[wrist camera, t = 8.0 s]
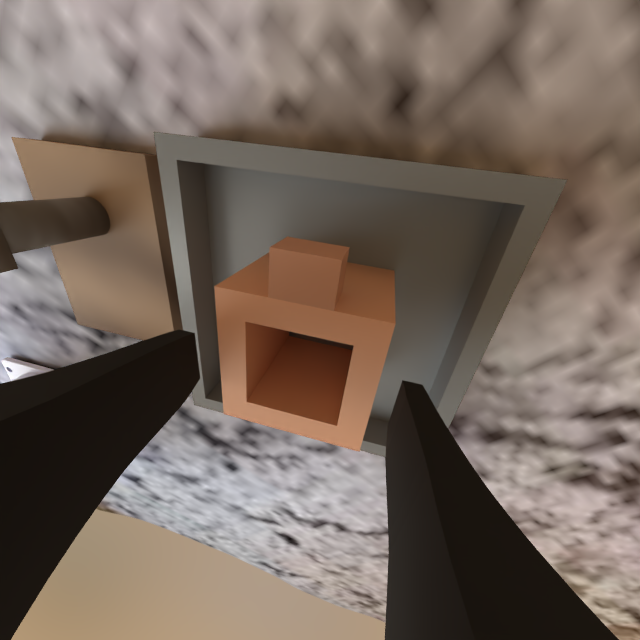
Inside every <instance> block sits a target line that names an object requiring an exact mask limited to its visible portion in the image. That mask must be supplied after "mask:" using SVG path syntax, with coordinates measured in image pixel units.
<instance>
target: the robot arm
mask: <svg viewBox="0 0 640 640" xmlns="http://www.w3.org/2000/svg"><path fill="white" fill-rule="evenodd" d="M2 364H3V366H4V368H5V369H6V371H7V373H8V375H9V377H10V379H11V380H12V381H10V382H6V383H2V384H0V640H11V638H12V637H13V635H14V633H15V632H16V630H17V628H18V627H19V625H20V623H21V622H22V620H23V619H24V617H25V615H26V614H27V612H28V610H29V609H30V607H31V606H32V604H33V602H34V601H35V599H36V598H37V596H38V594H39V593H40V591H41V590H42V588H43V586H44V585H45V583H46V581H47V580H48V578H49V577H50V575H51V574H52V572H53V571H54V569H55V568H56V566H57V565H58V563H59V562H60V560H61V559H62V557H63V556H64V554H65V553H66V551H67V550H68V548H69V547H70V545H71V544H72V542H73V541H74V539H75V537H76V536H77V535H78V533H79V532H80V530H81V529H82V528H83V526H84V525H85V523H86V522H87V521H88V519H89V518H90V516H91V515H92V513H93V512H94V510H95V509H96V508H97V506H98V505H99V504H100V502H101V501H102V500H103V498H104V497H105V496H106V494H107V493H108V492H109V490H110V489H111V488H112V486H113V485H114V484H115V482H116V481H117V479H118V478H119V477H120V475H121V474H122V473H123V472H124V470H125V469H126V468H127V467H128V465H129V464H130V463H131V462H132V461H133V459H134V458H135V457H136V456H137V455H138V454H139V453H140V452H141V450H142V449H143V448H144V447H145V446H146V445H147V444H148V443H149V441H150V440H151V439H152V438H153V437H154V436H155V435H156V434H157V433H158V431H159V430H160V429H161V428H162V427H163V426H164V425H165V424H166V422H167V421H168V420H169V419H170V418H171V417H172V416H173V415H174V413H175V412H176V411H177V410H178V409H179V408H180V407H181V405H182V404H183V403H184V402H185V400H186V399H187V397H188V396H189V395H190V393H191V392H192V390H193V389H194V387H195V386H196V384H197V383H198V381H199V380H200V372H199V364H198V356H197V347H196V339H195V333H193V332H188V331H184V330H175V331H171V332H168V333H165V334H162V335H159V336H156V337H153V338H150V339H147V340H144V341H141V342H138V343H135V344H133V345H130V346H127V347H124V348H121V349H118V350H115V351H112V352H109V353H107V354H103V355H100V356H97V357H94V358H91V359H88V360H85V361H82V362H78V363H75V364H72V365H69V366H66V367H63V368H59V369H56V370H54V369H50V368H46V367H43V366H39V365H35V364H32V363H28V362H24V361H21V360H17V359H14V358H10V357H7V358H5V359H3V360H2ZM385 459H386V486H387V509H388V533H389V561H388V585H387V607H386V626H385V627H386V628H385V640H619V639H618V638H617V637H616V636H615V635H614V634H613V633H612V632H611V631H610V630H609V629H608V628H607V627H606V626H605V625H604V624H603V623H602V622H601V621H600V619H599V618H598V617H597V616H596V615H595V614H594V613H593V612H592V611H591V610H590V609H589V608H588V606H587V605H586V604H585V603H584V602H583V601H582V600H581V599H580V598H579V597H578V596H577V595H576V593H575V592H574V591H573V590H572V589H571V588H570V587H569V586H568V584H567V583H566V582H565V581H564V580H563V579H562V578H561V577H560V575H559V574H558V573H557V572H556V571H555V570H554V569H553V567H552V566H551V565H550V564H549V563H548V562H547V561H546V560H545V558H544V557H543V556H542V555H541V554H540V553H539V552H538V550H537V549H536V548H535V547H534V546H533V544H532V543H531V542H530V541H529V540H528V539H527V537H526V536H525V535H524V534H523V533H522V531H521V530H520V529H519V528H518V526H517V525H516V524H515V523H514V521H513V520H512V519H511V518H510V516H509V515H508V514H507V512H506V511H505V510H504V509H503V507H502V506H501V505H500V504H499V502H498V501H497V500H496V499H495V497H494V496H493V495H492V493H491V492H490V491H489V489H488V488H487V487H486V485H485V484H484V482H483V481H482V480H481V478H480V477H479V475H478V474H477V472H476V471H475V470H474V468H473V467H472V465H471V464H470V462H469V461H468V459H467V458H466V456H465V455H464V453H463V452H462V450H461V449H460V447H459V446H458V444H457V442H456V441H455V439H454V438H453V436H452V434H451V433H450V431H449V430H448V428H447V426H446V425H445V423H444V421H443V420H442V418H441V416H440V415H439V413H438V411H437V409H436V408H435V406H434V404H433V402H432V401H431V399H430V397H429V395H428V393H427V392H426V390H425V388H424V387H423V385H422V384H417V383H413V382H408V381H404V380H402V383H401V386H400V389H399V392H398V395H397V398H396V401H395V404H394V407H393V411H392V414H391V417H390V420H389V423H388V427H387V440H386V455H385Z"/></svg>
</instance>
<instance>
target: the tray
mask: <svg viewBox="0 0 640 640" xmlns="http://www.w3.org/2000/svg"><path fill="white" fill-rule="evenodd" d="M154 138H155V145H156V152H157V158H158V165H159V172H160V178H161V185H162V192H163V199H164V205H165V212H166V219H167V226H168V232H169V239H170V246H171V252H172V259H173V266H174V273H175V279H176V286H177V293H178V300H179V306H180V313H181V320H182V326H183V330H184V331H188V332H193V333H195V339H196V347H197V356H198V364H199V372H200V380H199V381H198V383H197V384H196V386H195V387H194V389H193V390H192V394H193V400H194V405H196V406H200V407H204V408H207V409H211V410H215V411H218V412H222V413H224V412H223V398H222V384H221V371H220V357H219V344H218V330H217V316H216V303H215V289H214V286H216V285H217V284H219V283H220V282H222V281H224V280H225V279H227V278H229V277H230V276H232V275H233V274H235V273H237V272H238V271H240V270H241V269H243V268H245V267H246V266H248V265H249V264H251V263H253V262H254V261H256V260H257V259H259V258H261V257H262V256H264V255H266V254H267V253H269V250H270V247H271V246H272V245H274V244H276V243H278V242H279V241H281V240H283V239H284V238H286V237H293V238H299V239H304V240H310V241H316V242H322V243H328V244H333V245H339V246H345V247H350V248H349V254H348V260H347V262H349V263H355V264H360V265H366V266H371V267H377V268H383V269H388V270H394V273H395V321H396V324H395V328H394V331H393V335H392V338H391V342H390V345H389V349H388V352H387V356H386V359H385V363H384V367H383V370H382V374H381V377H380V381H379V384H378V388H377V391H376V395H375V398H374V402H373V405H372V409H371V413H370V416H369V420H368V423H367V427H366V430H365V434H364V437H363V441H362V444H361V448H360V450H361V451H365V452H368V453H372V454H376V455H379V456H383V457H385V455H386V440H387V427H388V423H389V420H390V417H391V414H392V411H393V407H394V404H395V401H396V398H397V395H398V392H399V389H400V386H401V383H402V380H404V381H408V382H413V383H417V384H422V385H423V387H424V388H425V390H426V392H427V393H428V395H429V397H430V399H431V401H432V402H433V404H434V406H435V408H436V409H437V411H438V413H439V415H440V416H441V418H442V420H443V421H444V423H445V425H446V426H447V428H449V426H450V424H451V421H452V419H453V417H454V415H455V413H456V411H457V409H458V407H459V405H460V403H461V401H462V399H463V396H464V394H465V392H466V390H467V388H468V386H469V384H470V382H471V380H472V378H473V376H474V374H475V371H476V369H477V367H478V365H479V363H480V361H481V359H482V357H483V355H484V353H485V351H486V349H487V346H488V344H489V342H490V340H491V338H492V336H493V334H494V332H495V330H496V328H497V326H498V324H499V321H500V319H501V317H502V315H503V313H504V311H505V309H506V307H507V305H508V303H509V301H510V299H511V296H512V294H513V292H514V290H515V288H516V286H517V284H518V282H519V280H520V278H521V276H522V274H523V271H524V269H525V267H526V265H527V263H528V261H529V259H530V257H531V255H532V253H533V251H534V248H535V246H536V244H537V242H538V240H539V238H540V236H541V234H542V232H543V230H544V228H545V226H546V223H547V221H548V219H549V217H550V215H551V213H552V211H553V209H554V207H555V205H556V203H557V201H558V198H559V196H560V194H561V192H562V190H563V188H564V186H565V184H566V182H567V180H565V179H556V178H548V177H539V176H530V175H522V174H513V173H504V172H496V171H487V170H479V169H470V168H461V167H453V166H444V165H435V164H427V163H418V162H410V161H401V160H392V159H384V158H375V157H366V156H358V155H349V154H341V153H332V152H323V151H315V150H306V149H297V148H289V147H280V146H272V145H263V144H254V143H246V142H237V141H228V140H220V139H211V138H203V137H194V136H185V135H177V134H168V133H160V132H154ZM289 336H291V337H296V338H300V339H305V340H309V341H313V342H318V343H322V344H327V345H331V346H336V347H340V348H344V349H349V350H353V347H354V346H353V345H348V344H344V343H339V342H335V341H330V340H326V339H321V338H317V337H312V336H308V335H304V334H299V333H295V332H290V331H289Z"/></svg>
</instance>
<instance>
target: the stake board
mask: <svg viewBox="0 0 640 640" xmlns="http://www.w3.org/2000/svg"><path fill="white" fill-rule="evenodd" d="M12 140H13V143H14V146H15V149H16V151H17V154H18V157H19V160H20V163H21V165H22V168H23V171H24V174H25V177H26V179H27V182H28V185H29V188H30V191H31V194H32V196H33V199H34V200H30V201H15V202H1V203H0V273H2V272H6V271H10V270H14V269H18V267H17V264H16V262H15V260H14V257H13V255H12V254H13V253H18V252H23V251H28V250H33V249H38V248H42V247H47V246H50V247H51V250H52V253H53V255H54V258H55V261H56V264H57V267H58V269H59V272H60V275H61V278H62V281H63V283H64V286H65V289H66V292H67V295H68V298H69V300H70V303H71V306H72V309H73V312H74V314H75V317H76V320H77V323H78V324H79V325H83V326H87V327H91V328H95V329H99V330H103V331H107V332H112V333H116V334H120V335H124V336H128V337H132V338H136V339H140V340H147V339H150V338H153V337H156V336H159V335H162V334H165V333H168V332H171V331H175V330H183V326H182V320H181V313H180V306H179V300H178V293H177V286H176V279H175V273H174V266H173V259H172V252H171V246H170V239H169V232H168V226H167V219H166V212H165V205H164V199H163V192H162V185H161V178H160V172H159V165H158V158H157V155H152V154H144V153H136V152H129V151H121V150H113V149H106V148H98V147H90V146H82V145H75V144H67V143H59V142H52V141H44V140H35V139H25V138H15V137H12Z"/></svg>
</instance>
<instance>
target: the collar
mask: <svg viewBox="0 0 640 640" xmlns="http://www.w3.org/2000/svg"><path fill="white" fill-rule="evenodd" d="M349 248H350V247H345V246H339V245H333V244H328V243H322V242H316V241H310V240H304V239H299V238H293V237H286V238H284V239H283V240H281V241H279V242H278V243H276V244H274V245H272V246H271V247H270V250H269V253H267V254H266V255H264V256H262V257H261V258H259V259H257V260H256V261H254V262H253V263H251V264H249V265H248V266H246V267H245V268H243V269H241V270H240V271H238V272H237V273H235V274H233V275H232V276H230V277H229V278H227V279H225V280H224V281H222V282H220V283H219V284H217V285H216V286H214V289H215V303H216V316H217V330H218V344H219V357H220V371H221V384H222V398H223V412H224V414H226V415H230V416H233V417H237V418H240V419H244V420H248V421H251V422H255V423H258V424H262V425H266V426H269V427H273V428H276V429H280V430H284V431H287V432H291V433H294V434H298V435H302V436H305V437H309V438H312V439H316V440H320V441H323V442H327V443H330V444H334V445H338V446H341V447H345V448H348V449H352V450H356V451H360V448H361V444H362V441H363V437H364V434H365V430H366V427H367V423H368V420H369V416H370V413H371V409H372V405H373V402H374V398H375V395H376V391H377V388H378V384H379V381H380V377H381V374H382V370H383V367H384V363H385V359H386V356H387V352H388V349H389V345H390V342H391V338H392V335H393V331H394V328H395V324H396V321H395V273H394V270H388V269H383V268H377V267H371V266H366V265H360V264H355V263H349V262H347V260H348V254H349ZM289 331H290V332H295V333H299V334H304V335H308V336H312V337H317V338H321V339H326V340H330V341H335V342H339V343H344V344H348V345H353V346H354V347H353V350H349V349H344V348H340V347H336V346H331V345H327V344H322V343H318V342H313V341H309V340H305V339H300V338H296V337H291V336H289Z"/></svg>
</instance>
